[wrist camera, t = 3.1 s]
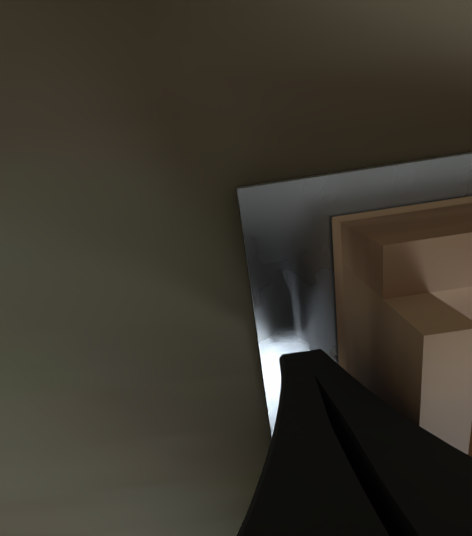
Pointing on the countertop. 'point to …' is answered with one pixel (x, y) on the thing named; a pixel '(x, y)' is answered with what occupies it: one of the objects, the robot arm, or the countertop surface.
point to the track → (321, 247)
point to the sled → (409, 311)
